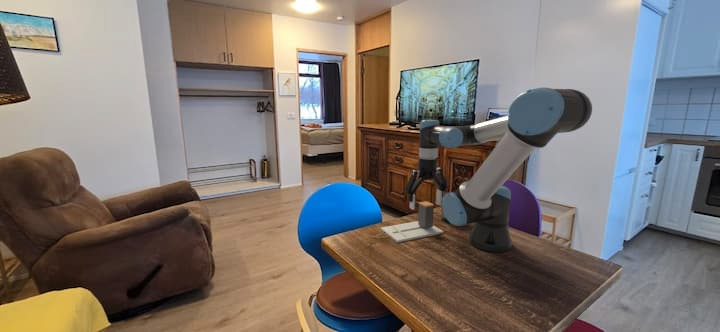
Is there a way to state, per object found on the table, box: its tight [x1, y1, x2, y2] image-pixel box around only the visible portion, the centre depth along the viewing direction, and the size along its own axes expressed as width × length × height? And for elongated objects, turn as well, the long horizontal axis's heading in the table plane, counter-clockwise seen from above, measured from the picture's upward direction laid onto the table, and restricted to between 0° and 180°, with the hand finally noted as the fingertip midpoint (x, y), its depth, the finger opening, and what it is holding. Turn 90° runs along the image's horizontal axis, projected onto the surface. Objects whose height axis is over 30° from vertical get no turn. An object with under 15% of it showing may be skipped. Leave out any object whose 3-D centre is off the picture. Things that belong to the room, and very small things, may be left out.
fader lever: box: [417, 201, 435, 228], centre depth 131 cm, size 5×4×10 cm
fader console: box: [380, 220, 444, 243], centre depth 129 cm, size 14×22×1 cm, turn 113°
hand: (425, 206), depth 131 cm, fingers open, 13 cm apart
